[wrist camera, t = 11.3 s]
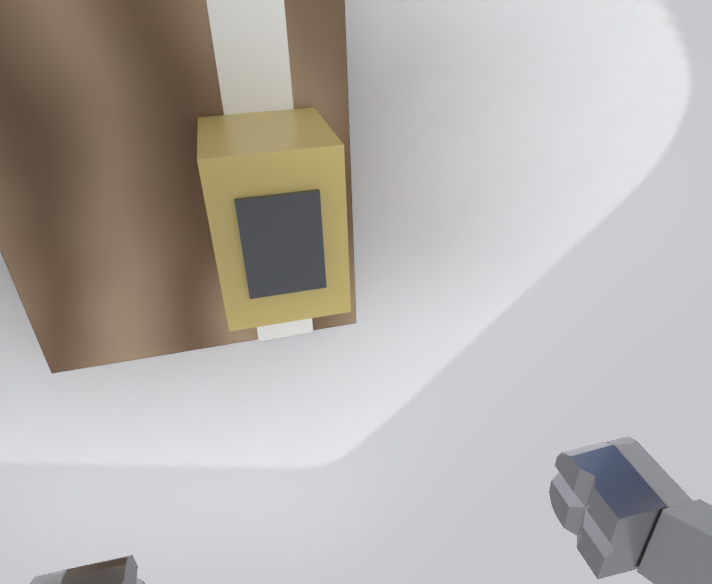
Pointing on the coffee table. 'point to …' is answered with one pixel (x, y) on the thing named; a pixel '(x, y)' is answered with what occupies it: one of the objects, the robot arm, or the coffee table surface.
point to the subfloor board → (143, 160)
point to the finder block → (276, 215)
